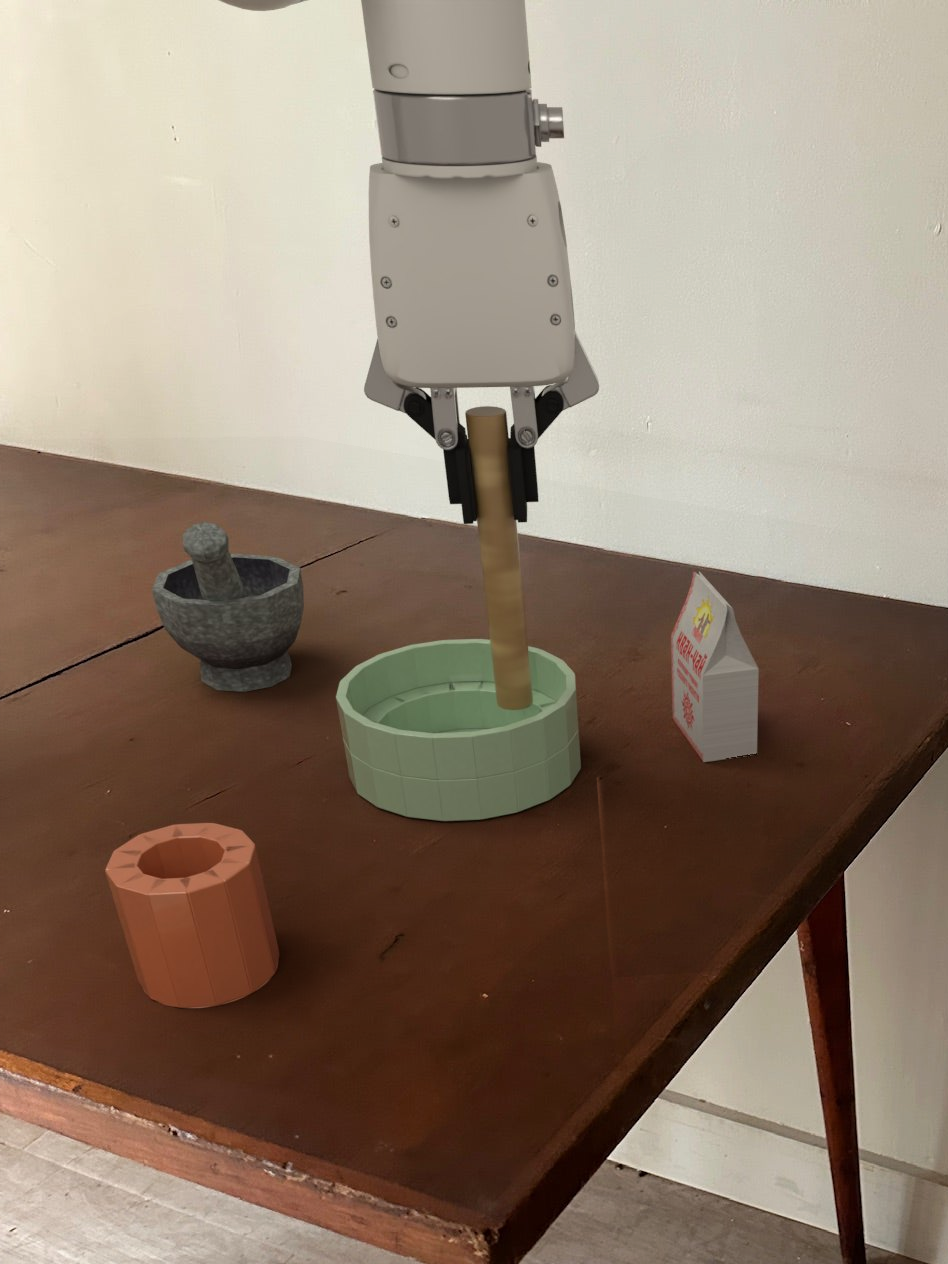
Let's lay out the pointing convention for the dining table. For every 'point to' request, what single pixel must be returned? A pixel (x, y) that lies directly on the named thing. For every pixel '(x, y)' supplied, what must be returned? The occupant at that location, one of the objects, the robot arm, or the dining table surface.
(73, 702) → the dining table surface
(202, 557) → the mortar and pestle
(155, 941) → the utensil pot
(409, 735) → the bowl
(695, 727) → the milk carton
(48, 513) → the dining table surface
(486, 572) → the stick
